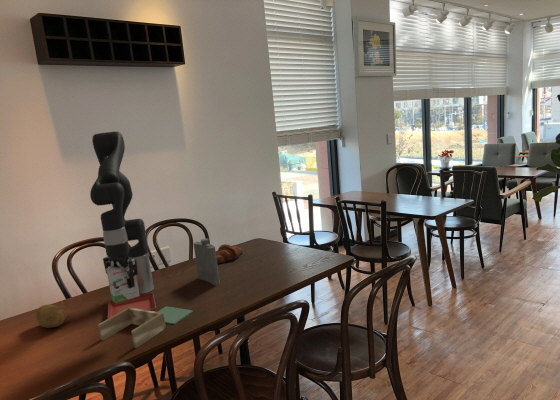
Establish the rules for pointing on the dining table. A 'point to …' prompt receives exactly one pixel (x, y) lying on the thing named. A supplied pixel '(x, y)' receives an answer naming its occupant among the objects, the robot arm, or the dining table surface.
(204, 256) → the hip flask
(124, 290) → the ink box
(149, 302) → the plant saucer
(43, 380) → the dining table surface
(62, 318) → the potato
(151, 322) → the beige u-shaped bracket
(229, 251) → the pastry
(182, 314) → the mat
